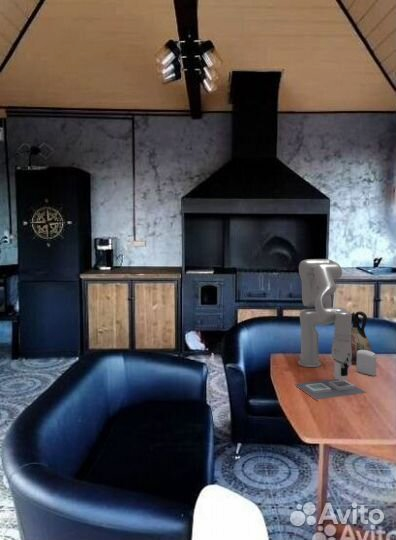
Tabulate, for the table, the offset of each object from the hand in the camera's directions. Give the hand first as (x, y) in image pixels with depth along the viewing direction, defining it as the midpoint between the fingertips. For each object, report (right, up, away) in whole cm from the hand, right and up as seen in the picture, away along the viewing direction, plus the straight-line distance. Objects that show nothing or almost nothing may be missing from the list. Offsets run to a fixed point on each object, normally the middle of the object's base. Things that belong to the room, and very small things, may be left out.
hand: (341, 373), depth 208 cm
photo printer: (+20, -5, +22) cm, 30 cm away
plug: (0, -2, 0) cm, 2 cm away
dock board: (-6, -8, -2) cm, 10 cm away
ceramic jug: (+23, -3, +41) cm, 47 cm away
